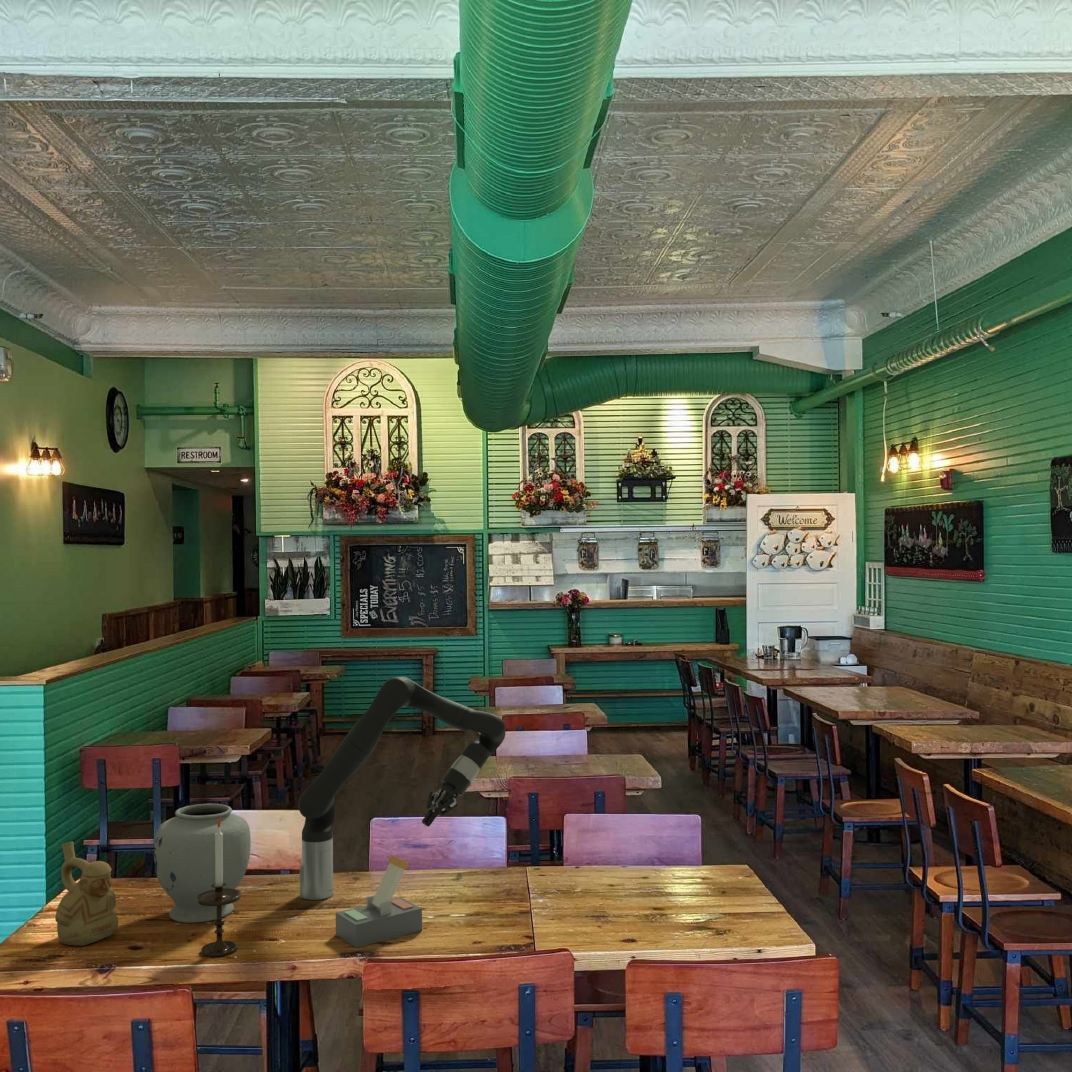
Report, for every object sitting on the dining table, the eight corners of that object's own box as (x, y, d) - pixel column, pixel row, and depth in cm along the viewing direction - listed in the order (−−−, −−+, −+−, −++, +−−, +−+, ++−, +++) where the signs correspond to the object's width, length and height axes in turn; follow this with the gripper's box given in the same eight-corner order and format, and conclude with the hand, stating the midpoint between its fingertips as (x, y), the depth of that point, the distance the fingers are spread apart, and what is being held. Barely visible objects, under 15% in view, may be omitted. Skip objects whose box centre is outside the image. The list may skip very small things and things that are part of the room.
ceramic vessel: (78, 955, 260) (78, 858, 261) (35, 941, 270) (35, 847, 271) (135, 934, 274) (135, 842, 275) (91, 921, 285) (91, 833, 286)
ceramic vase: (234, 891, 310) (233, 794, 310) (264, 915, 288) (263, 810, 289) (143, 909, 294) (143, 807, 295) (168, 936, 272) (168, 825, 273)
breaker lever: (380, 910, 270) (402, 860, 275) (369, 904, 275) (391, 854, 280) (386, 913, 271) (409, 863, 276) (375, 907, 276) (397, 857, 281)
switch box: (355, 947, 262) (355, 913, 263) (335, 934, 272) (335, 901, 272) (422, 930, 274) (421, 897, 275) (400, 918, 284) (400, 886, 284)
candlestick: (248, 949, 262) (248, 815, 263) (210, 962, 254) (210, 823, 255) (227, 939, 269) (226, 808, 270) (189, 951, 261) (189, 816, 262)
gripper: (441, 763, 294) (405, 812, 287) (465, 770, 284) (428, 821, 276) (456, 779, 297) (421, 827, 290) (481, 786, 287) (445, 837, 279)
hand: (425, 824), depth 283 cm, fingers closed
